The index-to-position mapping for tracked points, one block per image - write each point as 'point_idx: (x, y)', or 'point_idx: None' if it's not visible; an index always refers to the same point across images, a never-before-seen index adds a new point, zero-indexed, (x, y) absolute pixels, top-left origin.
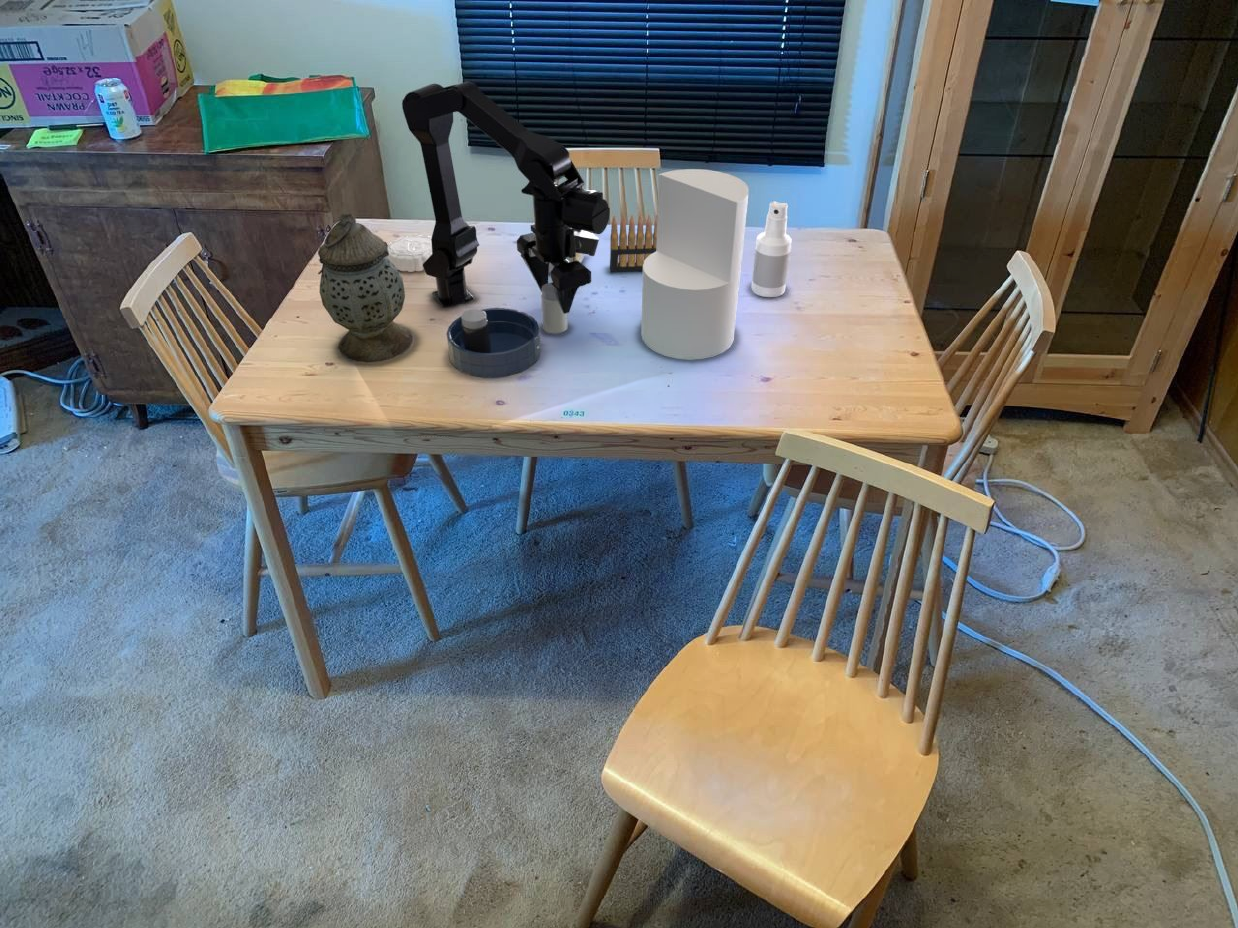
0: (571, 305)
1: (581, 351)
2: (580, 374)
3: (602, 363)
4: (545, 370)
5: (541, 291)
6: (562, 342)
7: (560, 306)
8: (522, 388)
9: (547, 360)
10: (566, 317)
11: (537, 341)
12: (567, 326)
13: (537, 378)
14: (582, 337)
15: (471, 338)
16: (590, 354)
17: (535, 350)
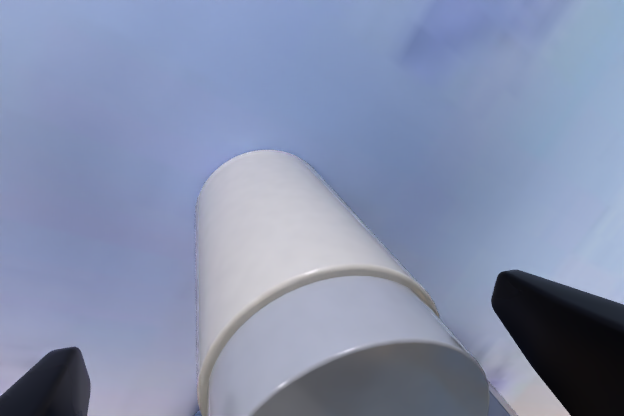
0: (592, 295)
1: (498, 175)
2: (595, 235)
3: (611, 134)
4: (503, 327)
5: (87, 403)
6: (393, 223)
7: (542, 370)
8: (525, 394)
9: (463, 310)
10: (339, 196)
11: (504, 405)
12: (300, 160)
13: (518, 355)
14: (411, 118)
15: None
16: (539, 150)
17: (495, 390)
